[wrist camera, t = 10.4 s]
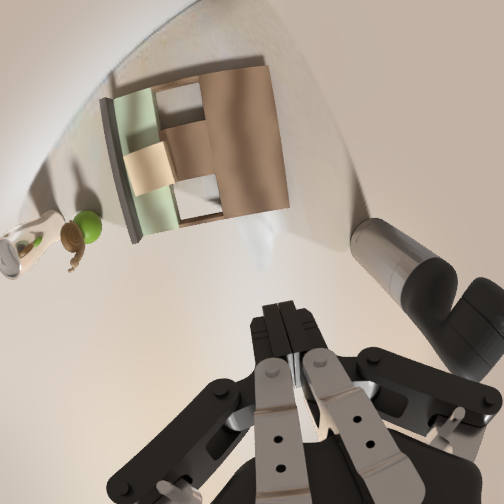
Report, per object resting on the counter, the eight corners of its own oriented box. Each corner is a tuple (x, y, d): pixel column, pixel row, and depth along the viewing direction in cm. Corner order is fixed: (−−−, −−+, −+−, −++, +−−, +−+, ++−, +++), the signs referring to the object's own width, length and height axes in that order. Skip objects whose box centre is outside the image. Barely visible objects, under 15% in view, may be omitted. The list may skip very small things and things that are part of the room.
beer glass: (66, 207, 39) (16, 237, 25) (70, 243, 41) (26, 283, 28) (38, 207, 38) (-12, 235, 24) (43, 241, 40) (-2, 278, 27)
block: (167, 141, 35) (162, 141, 32) (178, 179, 37) (175, 183, 35) (129, 155, 35) (122, 156, 32) (141, 192, 37) (135, 196, 35)
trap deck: (265, 69, 34) (271, 59, 29) (286, 203, 43) (294, 212, 38) (113, 103, 33) (99, 99, 28) (142, 231, 42) (132, 244, 37)
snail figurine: (91, 246, 42) (59, 278, 31) (76, 214, 39) (39, 238, 28) (114, 235, 42) (84, 267, 31) (98, 201, 39) (63, 224, 28)
